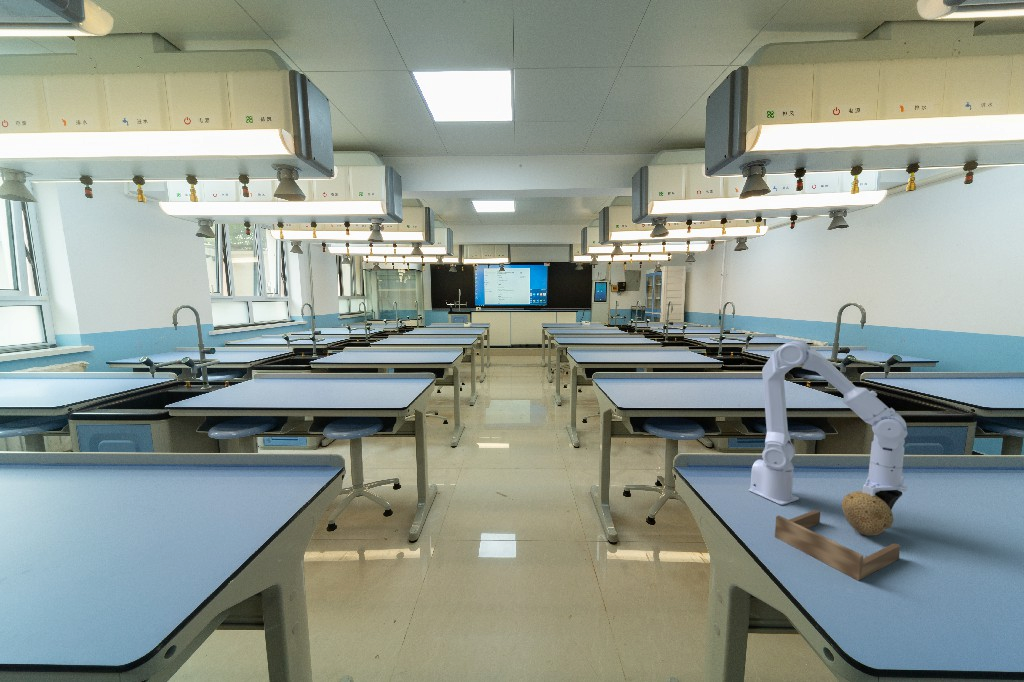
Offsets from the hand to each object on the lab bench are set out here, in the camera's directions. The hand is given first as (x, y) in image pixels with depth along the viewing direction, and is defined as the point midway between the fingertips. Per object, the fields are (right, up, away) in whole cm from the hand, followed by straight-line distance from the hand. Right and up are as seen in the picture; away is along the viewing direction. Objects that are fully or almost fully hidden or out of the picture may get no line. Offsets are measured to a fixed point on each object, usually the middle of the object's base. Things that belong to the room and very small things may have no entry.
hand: (880, 517), depth 95 cm
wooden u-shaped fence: (-17, -3, -8) cm, 19 cm away
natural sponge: (-6, -3, -3) cm, 7 cm away
